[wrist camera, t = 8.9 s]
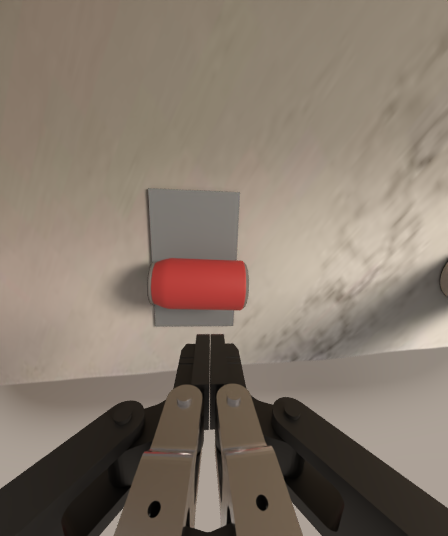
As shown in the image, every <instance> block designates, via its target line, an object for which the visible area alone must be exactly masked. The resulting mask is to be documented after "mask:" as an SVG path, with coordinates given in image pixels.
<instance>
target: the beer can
mask: <svg viewBox="0 0 448 536" xmlns="http://www.w3.org/2000/svg"><path fill="white" fill-rule="evenodd" d="M248 291H249V276H248V270H247V266H246V264H245V263H244V262H243V261H236V260H209V259H183V258H169V259H164V260H161V261H158V262H156V261H154V262H153V263H152V264H151V266H150V269H149V273H148V282H147V292H148V299H149V302H150V303H151V304H152V305H154V304H156V305H158V306H161V307H163V308H167V309H193V310H242V309H243V308H244V307H245V305H246V303H247V299H248Z"/></svg>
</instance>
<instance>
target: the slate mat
mask: <svg viewBox="0 0 448 536" xmlns="http://www.w3.org/2000/svg"><path fill="white" fill-rule="evenodd" d="M148 195H149V214H150V233H151V251H152V263H153V262H154V261H156V262H158V261H161V260H164V259H169V258H183V259H209V260H236V259H237V239H238V220H239V200H240V192H223V191H201V190H178V189H155V188H148ZM154 307H155V326H156V327H159V326H233V318H234V310H193V309H167V308H163V307H161V306H158V305H156V304H154Z"/></svg>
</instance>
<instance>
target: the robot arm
mask: <svg viewBox="0 0 448 536" xmlns="http://www.w3.org/2000/svg"><path fill="white" fill-rule="evenodd" d="M440 285H441V289H442V291H443V293H444V294H445V295H446V296H447V297H448V262H447V264H446V265H445V267H444V269H443V271H442V274H441V279H440ZM209 368H210V429H215V457H216V469H217V478H218V491H219V502H220V516H221V528H219V529H216V530H214V531H212V532H204V531H201V530H197V529H194V525H195V512H196V501H197V493H198V483H199V473H200V463H201V454H202V446H203V441H204V430H208V429H209ZM292 503H293V504H294V505H295V506H296V507H297V508H298V509H299V510H300V512H301V513H302V514H303V515H304V516H305V517H306V518H307V519H308V521H309V522H310V523H311V524H312V525H313V526H314V527H315V528H316V529H317V531H318V532H319V533H320V534H321V535H322V536H448V508H447V507H445V506H444V505H443V504H441V503H440V502H438V501H437V500H436V499H434V498H433V497H431V496H430V495H429V494H427V493H426V492H424V491H423V490H422V489H420V488H419V487H418V486H416V485H415V484H413V483H412V482H411V481H409V480H408V479H406V478H405V477H404V476H402V475H401V474H400V473H398V472H397V471H395V470H394V469H393V468H391V467H390V466H389V465H387V464H386V463H384V462H383V461H382V460H380V459H379V458H377V457H376V456H375V455H373V454H372V453H370V452H369V451H368V450H366V449H365V448H363V447H362V446H361V445H359V444H358V443H357V442H355V441H353V440H352V439H351V438H350V437H348V436H347V435H345V434H344V433H343V432H341V431H340V430H339V429H337V428H336V427H334V426H333V425H332V424H330V423H329V422H327V421H326V420H325V419H323V418H322V417H321V416H319V415H318V414H316V413H315V412H314V411H312V410H311V409H309V408H308V407H307V406H305V405H304V404H303V403H301V402H299V401H298V400H296V399H293V398H289V397H283V398H279V399H278V400H276V401H275V402H274V404H273V405H272V404H268V403H264V402H261V401H258V400H256V399H255V398H254V397H252V396H251V395H250V393H249V391H248V390H247V389H246V385H245V380H244V376H243V370H242V365H241V360H240V356H239V351H238V349H237V347H236V346H235V345H234V344H225V341H224V334H211V350H210V334H197V336H196V344H186V345H185V347H184V348H183V349H182V350H181V355H180V360H179V365H178V369H177V374H176V379H175V384H174V388H173V390H172V391H171V392H170V393H169V394H168V396H167V399H166V400H165V401H163V402H161V403H160V404H158V405H155V406H151V407H149V408H145V409H144V408H143V406H142V405H141V404H140V403H139V402H137V401H125V402H121V403H119V404H117V405H115V406H114V407H112V408H111V409H110V410H108V411H107V412H105V413H104V414H103V415H101V416H100V417H99V418H97V419H96V420H94V421H93V422H92V423H90V424H89V425H88V426H86V427H85V428H83V429H82V430H81V431H79V432H78V433H77V434H75V435H74V436H72V437H71V438H70V439H68V440H67V441H66V442H64V443H63V444H61V445H60V446H59V447H57V448H56V449H55V450H53V451H52V452H51V453H49V454H48V455H46V456H45V457H44V458H42V459H41V460H40V461H38V462H37V463H35V464H34V465H33V466H31V467H30V468H28V469H27V470H26V471H24V472H23V473H22V474H20V475H19V476H17V477H16V478H15V479H13V480H12V481H11V482H9V483H8V484H7V485H5V486H4V487H2V488H1V489H0V536H99V535H100V534H101V533H102V532H103V531H104V529H105V528H106V527H107V526H108V525H109V524H110V523H111V521H112V520H113V519H114V518H115V516H117V514H118V513H119V512H120V511H121V510H122V509H123V511H122V514H121V516H120V519H119V522H118V525H117V528H116V531H115V534H114V536H303V534H302V531H301V528H300V525H299V522H298V519H297V517H296V513H295V510H294V507H293V505H292ZM123 507H124V508H123Z"/></svg>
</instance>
